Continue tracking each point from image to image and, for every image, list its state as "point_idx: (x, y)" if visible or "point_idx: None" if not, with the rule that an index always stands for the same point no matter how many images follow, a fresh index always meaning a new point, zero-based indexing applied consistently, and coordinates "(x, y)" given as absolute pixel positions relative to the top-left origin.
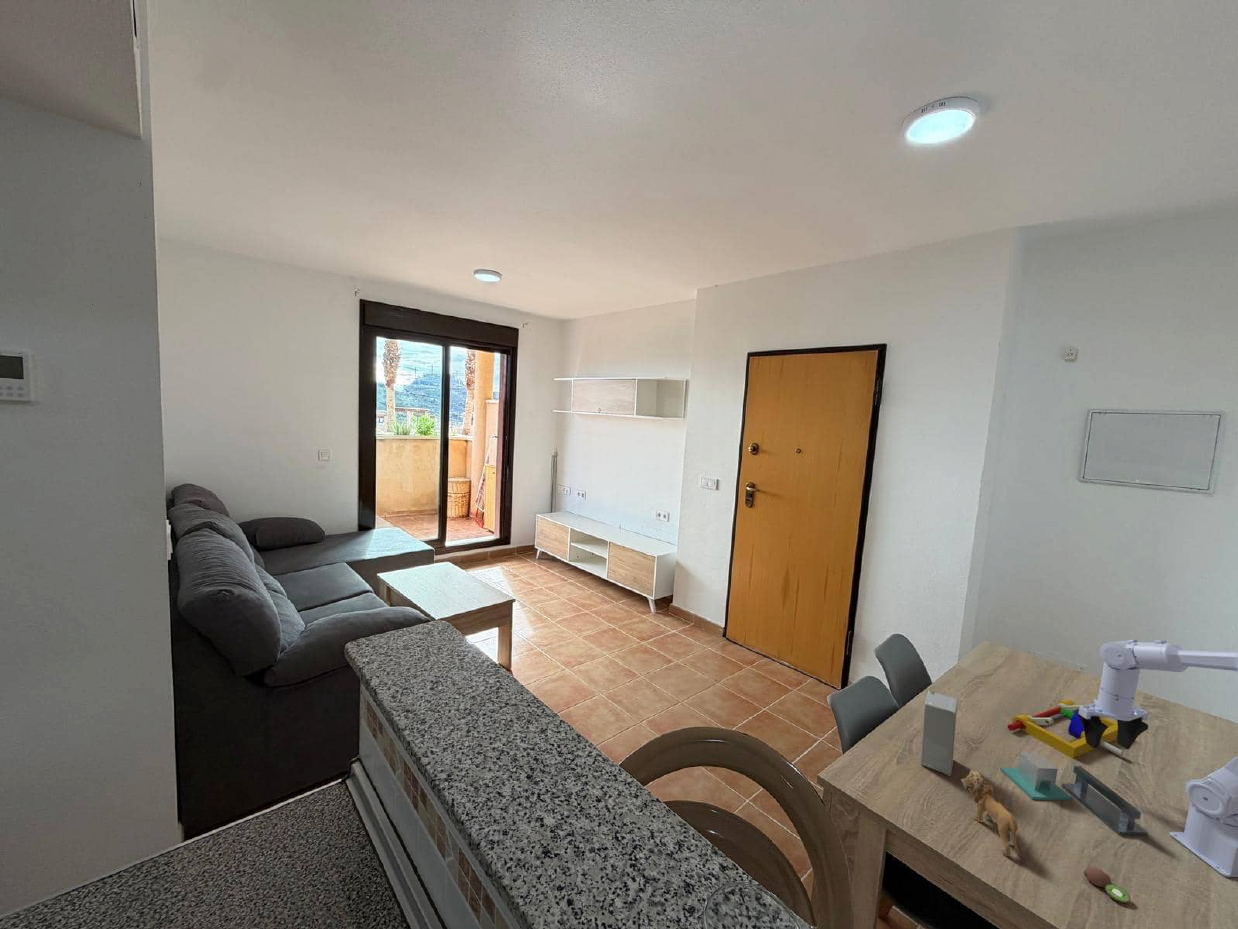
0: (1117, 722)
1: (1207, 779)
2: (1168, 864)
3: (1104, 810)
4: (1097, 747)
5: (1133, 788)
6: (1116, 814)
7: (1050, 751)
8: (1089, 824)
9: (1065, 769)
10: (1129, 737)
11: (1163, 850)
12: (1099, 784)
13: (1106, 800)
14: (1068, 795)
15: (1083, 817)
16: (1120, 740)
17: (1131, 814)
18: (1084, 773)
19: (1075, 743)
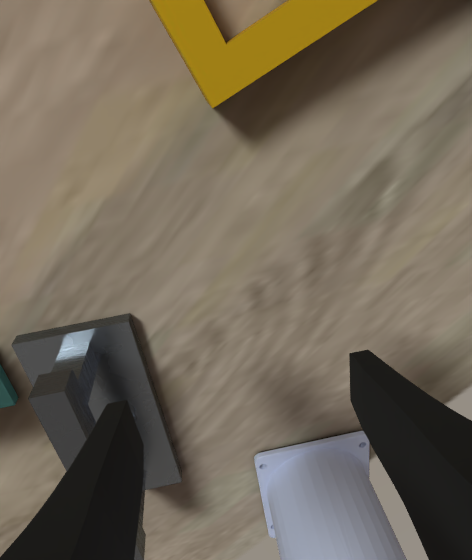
0: (447, 457)
1: None
2: (162, 533)
3: None
4: (142, 455)
5: (337, 272)
6: None
7: (109, 51)
8: (24, 476)
9: (105, 210)
10: (399, 481)
11: (187, 501)
12: None
13: (146, 391)
14: (7, 397)
15: (20, 456)
16: (366, 389)
17: None
18: (51, 436)
19: (259, 45)
